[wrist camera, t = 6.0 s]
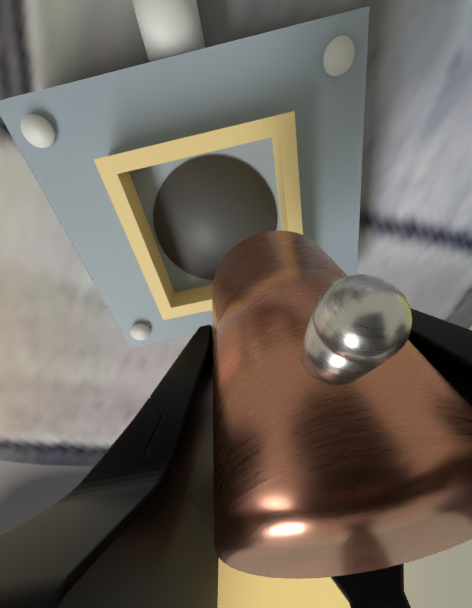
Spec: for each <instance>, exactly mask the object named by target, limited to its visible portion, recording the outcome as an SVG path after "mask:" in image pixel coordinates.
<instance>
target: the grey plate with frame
mask: <svg viewBox="0 0 472 608" xmlns="http://www.w3.org/2000/svg"><path fill="white" fill-rule="evenodd" d="M132 4H133V7H134V11H135V14H136V18H137V21H138V25H139V28H140V32H141V35H142V39H143V42H144V46H145V49H146V53H147V56H148V60H149V62H148V63H145V64H141V65H137V66H133V67H129V68H125V69H121V70H117V71H113V72H109V73H105V74H102V75H98V76H94V77H90V78H86V79H82V80H78V81H74V82H70V83H66V84H63V85H59V86H55V87H51V88H47V89H43V90H39V91H35V92H31V93H27V94H24V95H20V96H16V97H12V98H8V99H4V100H0V116H1V118H2V119H3V121H4V123H5V125H6V127H7V128H8V130H9V132H10V134H11V136H12V137H13V139H14V141H15V143H16V145H17V146H18V148H19V150H20V152H21V154H22V155H23V157H24V159H25V161H26V163H27V164H28V166H29V168H30V170H31V171H32V173H33V175H34V177H35V179H36V180H37V182H38V184H39V186H40V188H41V189H42V191H43V193H44V195H45V197H46V198H47V200H48V202H49V204H50V206H51V207H52V209H53V211H54V213H55V215H56V216H57V218H58V220H59V222H60V223H61V225H62V227H63V229H64V231H65V232H66V234H67V236H68V238H69V240H70V241H71V243H72V245H73V247H74V249H75V250H76V252H77V254H78V256H79V258H80V259H81V261H82V263H83V265H84V267H85V268H86V270H87V272H88V274H89V275H90V277H91V279H92V281H93V283H94V284H95V286H96V288H97V290H98V292H99V293H100V295H101V297H102V299H103V301H104V302H105V304H106V306H107V308H108V310H109V311H110V313H111V315H112V317H113V319H114V320H115V322H116V324H117V326H118V327H119V329H120V331H121V333H122V335H123V336H124V338H125V340H126V342H127V344H128V345H129V347H130V348H133V347H138V346H143V345H148V344H152V343H157V342H162V341H167V340H172V339H176V338H181V337H186V336H191V335H194V334H195V332H196V331H197V330H198V328H199V327H200V326H205V325H211V326H212V285H213V279H214V275H215V273H216V270H217V268H218V266H219V264H220V262H221V261H222V259H223V258H224V257H225V256H226V254H227V253H228V252H229V251H230V250H231V249H232V248H233V247H235V246H236V245H237V244H239V243H240V242H242V241H243V240H245V239H247V238H249V237H251V236H254V235H256V234H259V233H263V232H268V231H282V230H283V231H292V232H295V233H299V234H302V235H304V236H306V237H308V238H310V239H312V240H313V241H315V242H316V243H317V244H318V245H319V246H320V247H321V248H322V249H323V250H324V251H325V252H326V253H327V254H328V255H329V256H330V257H331V258H332V259H333V260H334V262H335V263H336V264H337V265H338V266H339V267H340V268H341V269H342V270H343V271H344V272H345V273H346V274H347V275H348V276H351V275H357V261H358V240H359V219H360V198H361V177H362V156H363V136H364V115H365V94H366V73H367V52H368V31H369V10H370V6H367V7H363V8H359V9H355V10H351V11H347V12H344V13H340V14H336V15H332V16H328V17H324V18H320V19H316V20H312V21H308V22H304V23H301V24H297V25H293V26H289V27H285V28H281V29H277V30H273V31H269V32H265V33H262V34H258V35H254V36H250V37H246V38H242V39H238V40H234V41H230V42H226V43H223V44H219V45H215V46H211V47H207V48H205V43H204V37H203V32H202V27H201V22H200V17H199V12H198V7H197V1H196V0H132Z"/></svg>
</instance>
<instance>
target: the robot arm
mask: <svg viewBox="0 0 472 608" xmlns="http://www.w3.org/2000/svg"><path fill="white" fill-rule="evenodd" d="M410 309H411V308H410ZM411 314H412V328H411V332H410V335H409V338H408V340H409V341H410V342H411V343H412V344H413V345H414V346H415V347H416V348H417V349H418V350H419V352H420V353H421V354H422V355H423V356H424V357H425V358H426V359H427V360H428V361H429V362H430V363H431V364H432V365H433V366H434V367H435V368H436V370H437V371H438V372H439V373H440V374H441V375H442V376H443V377H444V378H445V379H446V380H447V381H448V382H449V383H450V384H451V385H452V386H453V388H454V389H455V390H456V391H457V392H458V393H459V394H460V395H461V396H462V397H463V398H464V399H465V400H466V401H467V402H468V403H469V404H470V406H471V407H472V330H469V329H466V328H463V327H461V326H458V325H455V324H452V323H450V322H447V321H444V320H441V319H439V318H436V317H433V316H430V315H428V314H425V313H422V312H419V311H417V310H414V309H411ZM150 397H151V398H149V399H148V400H147V401H146V403H145V404H144V406H143V407H142V408H141V410H140V411H139V412H138V414H137V415H136V416H135V418H134V419H133V420H132V422H131V423H130V424H129V425H128V427H127V428H126V429H125V430H124V431H123V433H122V434H121V435H120V436H119V438H118V439H117V440H116V441H115V442H114V443H113V445H112V446H111V447H110V448H109V449H108V450H107V452H106V453H105V454H104V455H103V456H102V458H101V459H100V460H99V461H98V462H97V463H96V465H95V466H94V467H93V468H92V469H91V471H90V472H89V473H88V474H87V475H86V476H85V478H84V479H83V480H82V481H81V482H80V483H79V484H78V485H77V486H76V487H75V488H74V489H73V490H72V491H71V492H70V493H68V494H67V495H66V496H65V497H64V498H62V499H61V500H60V501H58V502H57V503H55V504H53V505H52V506H50V507H48V508H47V509H45V510H43V511H41V512H39V513H38V514H36V515H34V516H32V517H31V518H29V519H27V520H25V521H23V522H22V523H20V524H18V525H16V526H15V527H13V528H11V529H10V530H8V531H6V532H4V533H2V534H0V608H217V596H218V556H217V554H216V552H215V548H214V471H213V334H212V326H211V325H205V326H200V327H199V328H198V330H197V331H196V332H195V334H194V335H193V337H192V338H191V340H190V341H189V342H188V344H187V345H186V347H185V348H184V349H183V351H182V352H181V354H180V355H179V356H178V358H177V359H176V361H175V362H174V363H173V365H172V366H171V368H170V369H169V370H168V372H167V373H166V375H165V376H164V378H163V379H162V380H161V382H160V383H159V385H158V386H157V387H156V389H155V390H154V392H153V393H152V394H151V396H150ZM403 566H404V563H403V564H399V565H395V566H391V567H387V568H382V569H377V570H373V571H367V572H362V573H356V574H349V575H342V576H333V577H331V579H332V580H333V582H334V583H335V584H336V586H337V587H338V588H339V590H340V591H341V592H342V594H343V595H344V596H345V598H346V599H347V600H348V602H349V603H350V606H351V608H411V607H410V605H409V603H408V600H407V598H406V596H405V593H404V567H403Z"/></svg>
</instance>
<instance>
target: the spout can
mask: <svg viewBox="0 0 472 608" xmlns="http://www.w3.org/2000/svg"><path fill="white" fill-rule="evenodd" d="M411 328H412V314H411V309H410V306H409V304H408V301H407V300H406V298H405V296H404V295H403V294H402V293H401V291H400V290H399V289H398V288H397V287H395V286H394V285H393V284H391V283H390V282H388V281H386V280H384V279H382V278H379V277H376V276H372V275H363V274H359V275H351V276H348V275H347V274H346V273H345V272H344V271H343V270H342V269H341V268H340V267H339V266H338V265H337V264H336V263H335V262H334V260H333V259H332V258H331V257H330V256H329V255H328V254H327V253H326V252H325V251H324V250H323V249H322V248H321V247H320V246H319V245H318V244H317V243H316V242H315V241H313V240H312V239H310V238H308V237H306V236H304V235H302V234H299V233H295V232H292V231H283V230H282V231H268V232H263V233H259V234H256V235H254V236H251V237H249V238H247V239H245V240H243V241H242V242H240V243H239V244H237V245H236V246H235V247H233V248H232V249H231V250H230V251H229V252H228V253H227V254H226V256H225V257H224V258H223V259H222V261H221V262H220V264H219V266H218V268H217V270H216V273H215V275H214V279H213V285H212V334H213V471H214V548H215V552H216V554H217V556H218V557H219V558H220V559H221V560H222V561H223V562H224V563H225V564H227V565H228V566H230V567H232V568H234V569H237V570H239V571H242V572H245V573H249V574H254V575H258V576H265V577H273V578H298V579H299V578H321V577H333V576H342V575H349V574H356V573H362V572H367V571H373V570H377V569H382V568H387V567H391V566H395V565H399V564H403V563H406V562H410V561H414V560H417V559H420V558H423V557H427V556H429V555H432V554H435V553H438V552H441V551H444V550H446V549H449V548H452V547H454V546H456V545H459V544H461V543H464V542H466V541H468V540H470V539H472V407H471V406H470V404H469V403H468V402H467V401H466V400H465V399H464V398H463V397H462V396H461V395H460V394H459V393H458V392H457V391H456V390H455V389H454V388H453V386H452V385H451V384H450V383H449V382H448V381H447V380H446V379H445V378H444V377H443V376H442V375H441V374H440V373H439V372H438V371H437V370H436V368H435V367H434V366H433V365H432V364H431V363H430V362H429V361H428V360H427V359H426V358H425V357H424V356H423V355H422V354H421V353H420V352H419V350H418V349H417V348H416V347H415V346H414V345H413V344H412V343H411V342H410V341H409V340H408V338H409V335H410V332H411Z"/></svg>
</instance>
